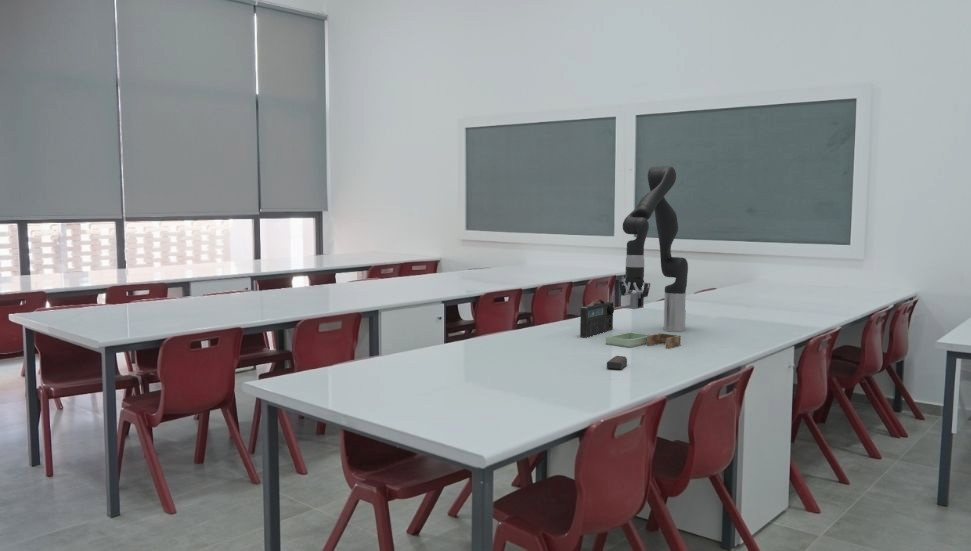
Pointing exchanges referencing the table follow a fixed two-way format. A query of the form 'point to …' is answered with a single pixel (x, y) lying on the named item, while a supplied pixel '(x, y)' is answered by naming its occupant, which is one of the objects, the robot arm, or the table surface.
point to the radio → (596, 318)
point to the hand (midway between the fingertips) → (634, 306)
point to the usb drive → (617, 362)
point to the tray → (627, 340)
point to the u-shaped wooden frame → (664, 340)
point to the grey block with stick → (630, 301)
